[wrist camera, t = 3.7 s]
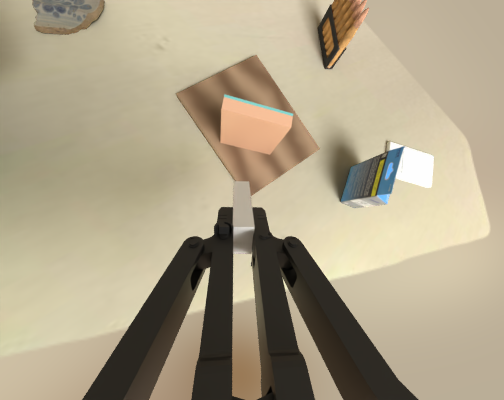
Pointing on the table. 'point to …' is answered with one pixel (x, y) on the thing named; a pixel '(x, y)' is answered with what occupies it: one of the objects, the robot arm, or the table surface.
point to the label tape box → (372, 180)
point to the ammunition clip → (339, 28)
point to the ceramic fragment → (66, 15)
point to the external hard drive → (414, 166)
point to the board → (258, 91)
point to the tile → (253, 125)
